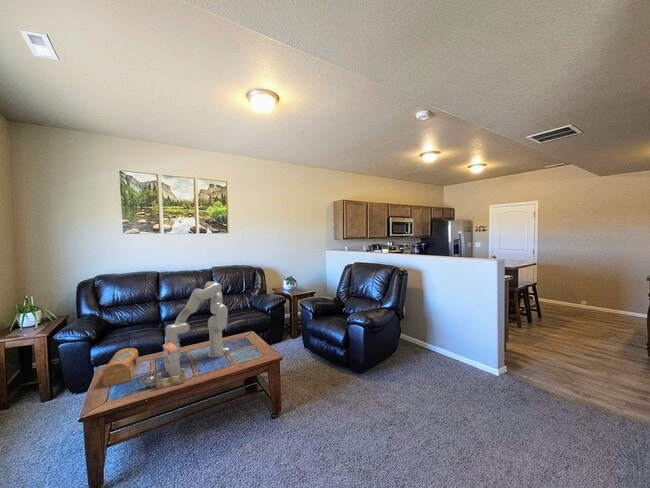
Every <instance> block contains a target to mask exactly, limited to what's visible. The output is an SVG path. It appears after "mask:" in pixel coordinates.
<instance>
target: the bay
mask: <svg viewBox="0 0 650 488" xmlns="http://www.w3.org/2000/svg"><path fill="white" fill-rule="evenodd" d="M180 373H181V375H178V376H174V377H166V378H162V373H161V372H159V373H156V374H157V387H156V388H157V390H158V389H162V388H166V387H170V386H173V385H174V386H175V385H179V384H185V383H186V373H185V368H183V367H182V368H180Z"/></svg>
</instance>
